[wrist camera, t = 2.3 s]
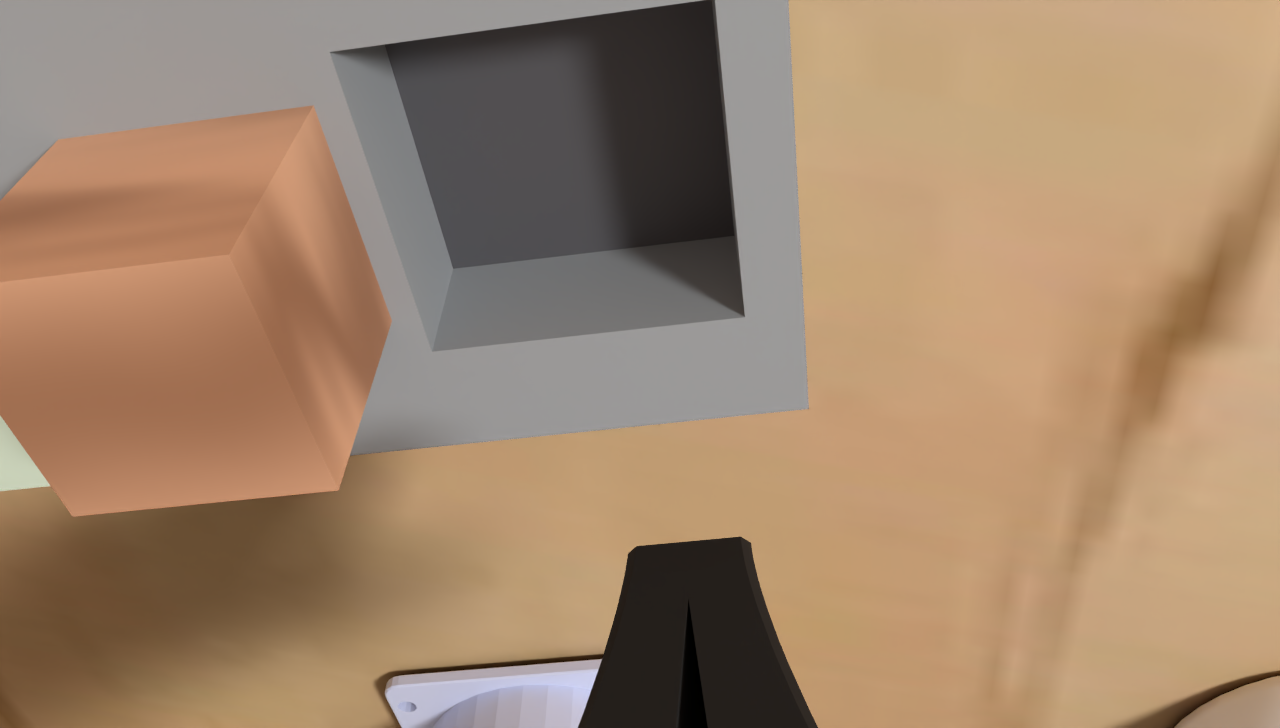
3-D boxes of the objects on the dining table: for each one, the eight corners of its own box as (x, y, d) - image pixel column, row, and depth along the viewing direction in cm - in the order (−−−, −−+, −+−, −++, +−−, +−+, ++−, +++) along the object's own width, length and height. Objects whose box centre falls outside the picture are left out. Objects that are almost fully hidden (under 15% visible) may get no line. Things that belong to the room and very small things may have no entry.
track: (790, 312, 21) (808, 408, 19) (-351, 437, 24) (-459, 538, 21) (757, -237, 15) (779, -194, 13) (-790, 7, 17) (-1011, 83, 15)
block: (392, 320, 18) (338, 489, 15) (170, 345, 18) (72, 517, 15) (313, 105, 15) (229, 254, 12) (58, 139, 16) (-88, 292, 12)
